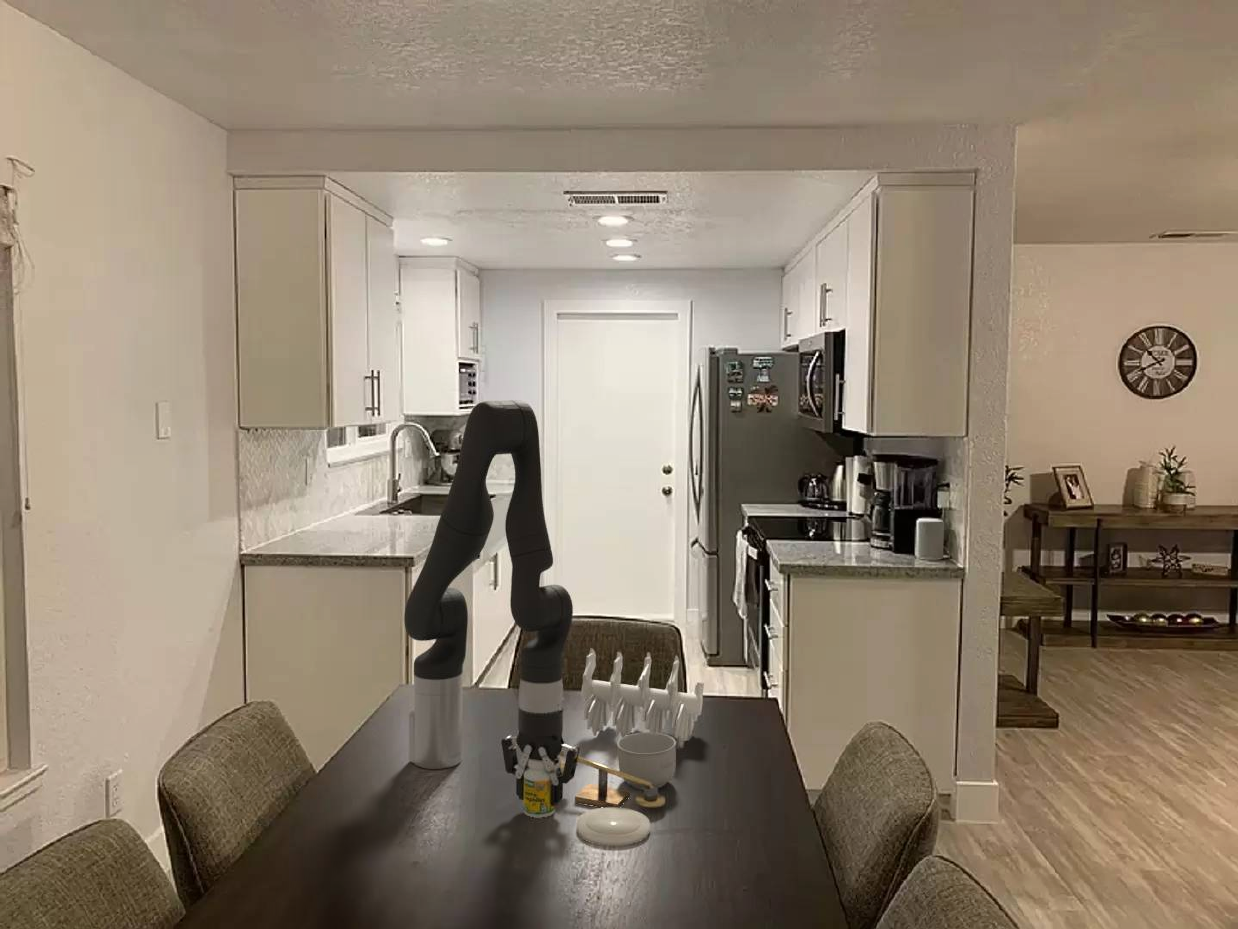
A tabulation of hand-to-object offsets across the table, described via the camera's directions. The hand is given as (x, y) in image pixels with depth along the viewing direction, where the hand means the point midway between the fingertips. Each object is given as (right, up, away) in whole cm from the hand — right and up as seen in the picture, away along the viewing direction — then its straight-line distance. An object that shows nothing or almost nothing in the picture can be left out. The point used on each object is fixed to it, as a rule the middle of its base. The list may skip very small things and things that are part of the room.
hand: (539, 801), depth 170 cm
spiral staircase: (+18, 0, +38) cm, 42 cm away
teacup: (+19, -2, +15) cm, 24 cm away
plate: (+13, -3, -6) cm, 14 cm away
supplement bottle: (0, -2, 0) cm, 2 cm away
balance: (+11, -2, +6) cm, 12 cm away
